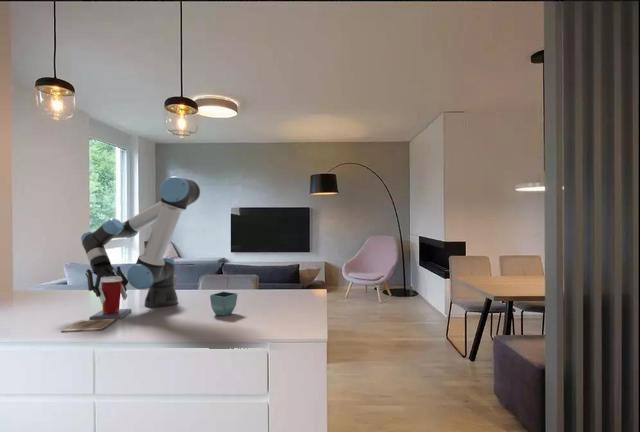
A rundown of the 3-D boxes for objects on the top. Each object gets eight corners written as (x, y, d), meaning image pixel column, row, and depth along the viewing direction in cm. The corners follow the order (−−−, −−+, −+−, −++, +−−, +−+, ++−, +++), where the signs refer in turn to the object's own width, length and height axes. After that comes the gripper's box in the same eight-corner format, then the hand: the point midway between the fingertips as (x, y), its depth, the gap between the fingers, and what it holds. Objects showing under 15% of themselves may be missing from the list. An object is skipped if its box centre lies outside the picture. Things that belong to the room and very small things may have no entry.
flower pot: (238, 313, 154) (238, 293, 154) (224, 317, 146) (225, 297, 146) (222, 310, 158) (223, 291, 158) (209, 315, 150) (209, 295, 150)
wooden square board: (117, 319, 142) (117, 318, 142) (102, 330, 129) (102, 329, 129) (80, 321, 140) (80, 320, 140) (61, 332, 126) (61, 330, 126)
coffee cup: (126, 310, 150) (127, 276, 151) (109, 315, 143) (110, 279, 143) (112, 308, 153) (113, 275, 153) (94, 313, 145) (95, 278, 146)
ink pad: (131, 311, 155) (131, 308, 155) (120, 319, 143) (120, 315, 143) (102, 312, 153) (102, 309, 153) (89, 320, 141) (89, 316, 141)
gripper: (120, 263, 166) (136, 300, 156) (69, 267, 149) (84, 310, 139) (125, 252, 163) (142, 290, 153) (74, 256, 146) (90, 299, 136)
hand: (114, 299), depth 146 cm, fingers closed on coffee cup, 8 cm apart
